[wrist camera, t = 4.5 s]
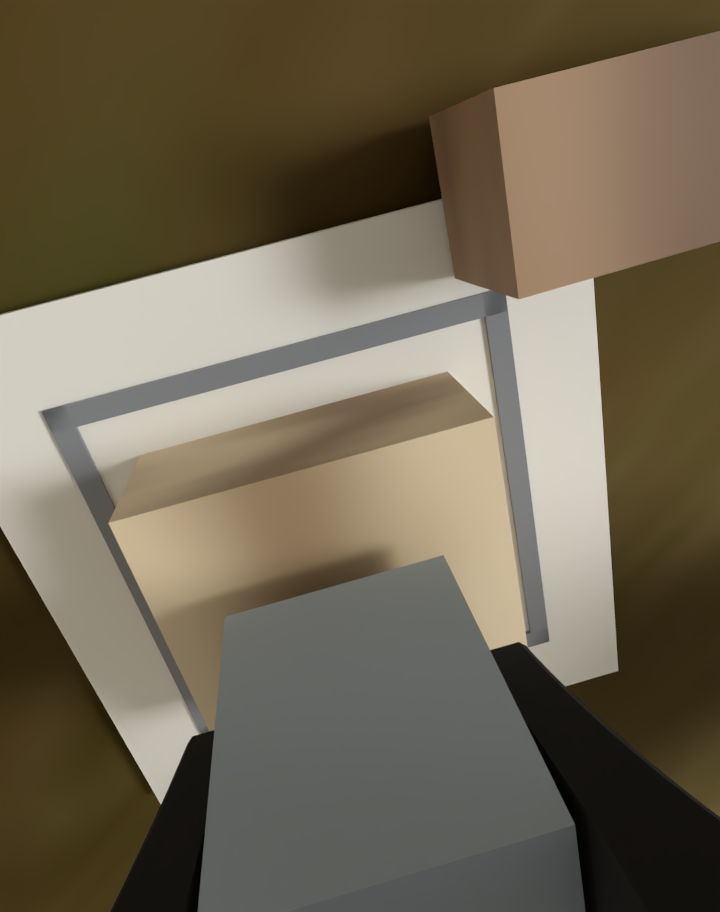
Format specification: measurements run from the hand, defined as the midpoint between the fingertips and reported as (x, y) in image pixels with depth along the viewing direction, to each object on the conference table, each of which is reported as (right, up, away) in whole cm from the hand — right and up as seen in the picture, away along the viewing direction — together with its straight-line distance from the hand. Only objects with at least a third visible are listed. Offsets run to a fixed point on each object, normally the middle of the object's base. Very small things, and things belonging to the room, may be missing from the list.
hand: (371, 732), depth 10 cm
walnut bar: (+5, +11, +3) cm, 12 cm away
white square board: (-1, +2, +5) cm, 6 cm away
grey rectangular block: (0, 0, +2) cm, 2 cm away
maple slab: (-1, +2, +5) cm, 6 cm away
